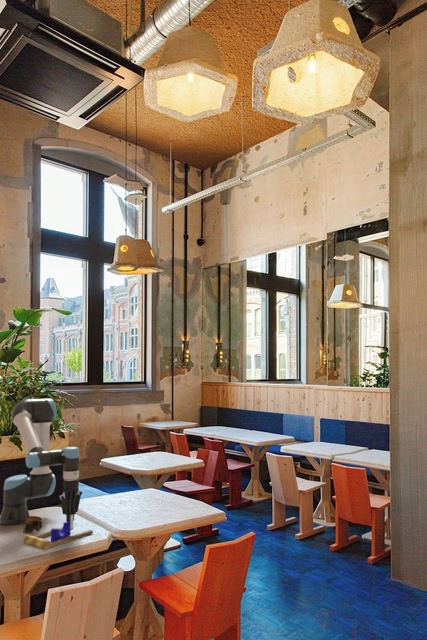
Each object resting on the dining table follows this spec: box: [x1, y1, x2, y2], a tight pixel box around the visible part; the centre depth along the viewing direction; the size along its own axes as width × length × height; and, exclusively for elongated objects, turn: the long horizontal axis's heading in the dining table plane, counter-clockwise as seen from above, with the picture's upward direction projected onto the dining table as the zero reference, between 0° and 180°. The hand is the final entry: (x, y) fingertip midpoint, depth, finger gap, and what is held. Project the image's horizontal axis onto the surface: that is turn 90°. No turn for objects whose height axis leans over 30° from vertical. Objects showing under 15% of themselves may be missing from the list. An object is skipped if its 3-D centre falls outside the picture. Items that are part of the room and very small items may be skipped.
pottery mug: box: [22, 515, 43, 534], centre depth 258 cm, size 12×10×8 cm
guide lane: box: [23, 526, 94, 550], centre depth 246 cm, size 17×27×3 cm, turn 144°
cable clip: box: [50, 521, 71, 542], centre depth 245 cm, size 12×4×6 cm, turn 164°
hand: (70, 528), depth 251 cm, fingers closed
